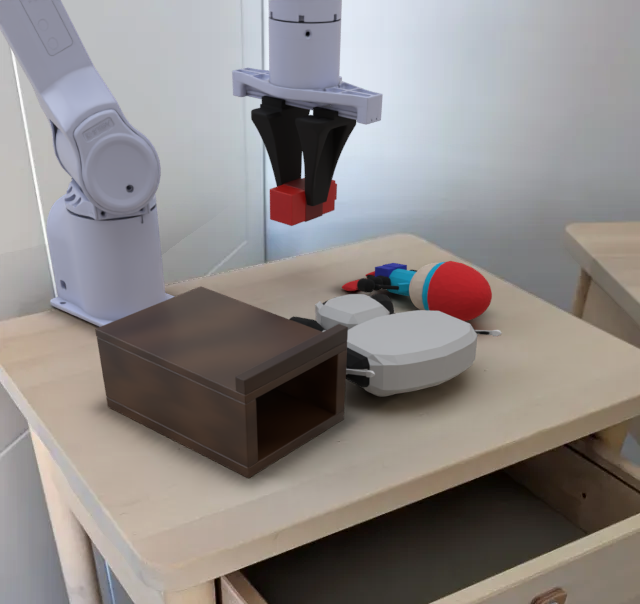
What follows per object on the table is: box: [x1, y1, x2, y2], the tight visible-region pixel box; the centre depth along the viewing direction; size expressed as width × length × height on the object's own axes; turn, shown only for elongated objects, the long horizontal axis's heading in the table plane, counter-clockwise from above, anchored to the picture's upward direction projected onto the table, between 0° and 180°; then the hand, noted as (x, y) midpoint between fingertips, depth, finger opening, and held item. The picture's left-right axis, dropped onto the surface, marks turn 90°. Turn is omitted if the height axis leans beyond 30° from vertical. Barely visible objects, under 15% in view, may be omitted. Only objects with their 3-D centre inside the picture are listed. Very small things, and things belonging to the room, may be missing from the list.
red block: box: [269, 177, 338, 227], centre depth 76 cm, size 3×7×3 cm, turn 141°
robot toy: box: [288, 293, 503, 397], centre depth 66 cm, size 12×4×15 cm
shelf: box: [94, 285, 348, 479], centre depth 59 cm, size 14×10×7 cm
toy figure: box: [341, 260, 493, 322], centre depth 75 cm, size 8×5×15 cm
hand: (303, 199), depth 75 cm, fingers closed on red block, 3 cm apart
